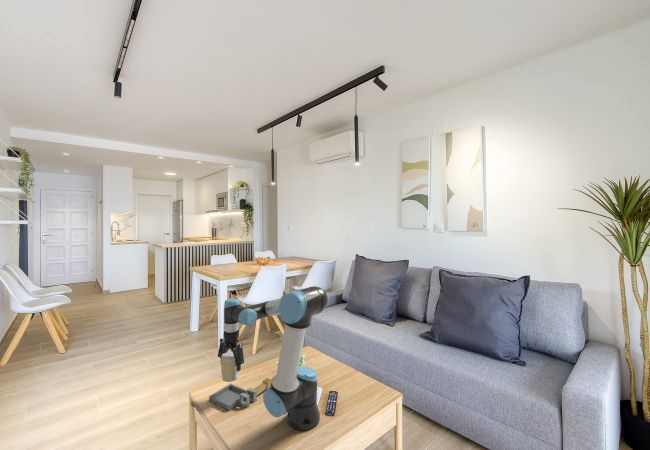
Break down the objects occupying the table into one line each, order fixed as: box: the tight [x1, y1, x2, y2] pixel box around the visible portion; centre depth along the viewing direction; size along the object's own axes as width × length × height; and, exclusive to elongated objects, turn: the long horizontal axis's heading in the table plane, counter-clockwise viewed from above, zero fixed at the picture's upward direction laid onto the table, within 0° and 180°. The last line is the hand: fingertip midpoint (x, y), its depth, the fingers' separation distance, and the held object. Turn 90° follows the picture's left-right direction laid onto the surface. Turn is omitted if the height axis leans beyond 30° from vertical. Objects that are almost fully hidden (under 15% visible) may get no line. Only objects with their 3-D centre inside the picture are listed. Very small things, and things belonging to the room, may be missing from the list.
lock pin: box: [249, 377, 272, 398], centre depth 160 cm, size 15×4×4 cm, turn 150°
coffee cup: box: [220, 350, 239, 383], centre depth 154 cm, size 9×9×12 cm
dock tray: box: [208, 383, 258, 411], centre depth 153 cm, size 19×14×5 cm
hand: (230, 374), depth 154 cm, fingers closed on coffee cup, 9 cm apart
